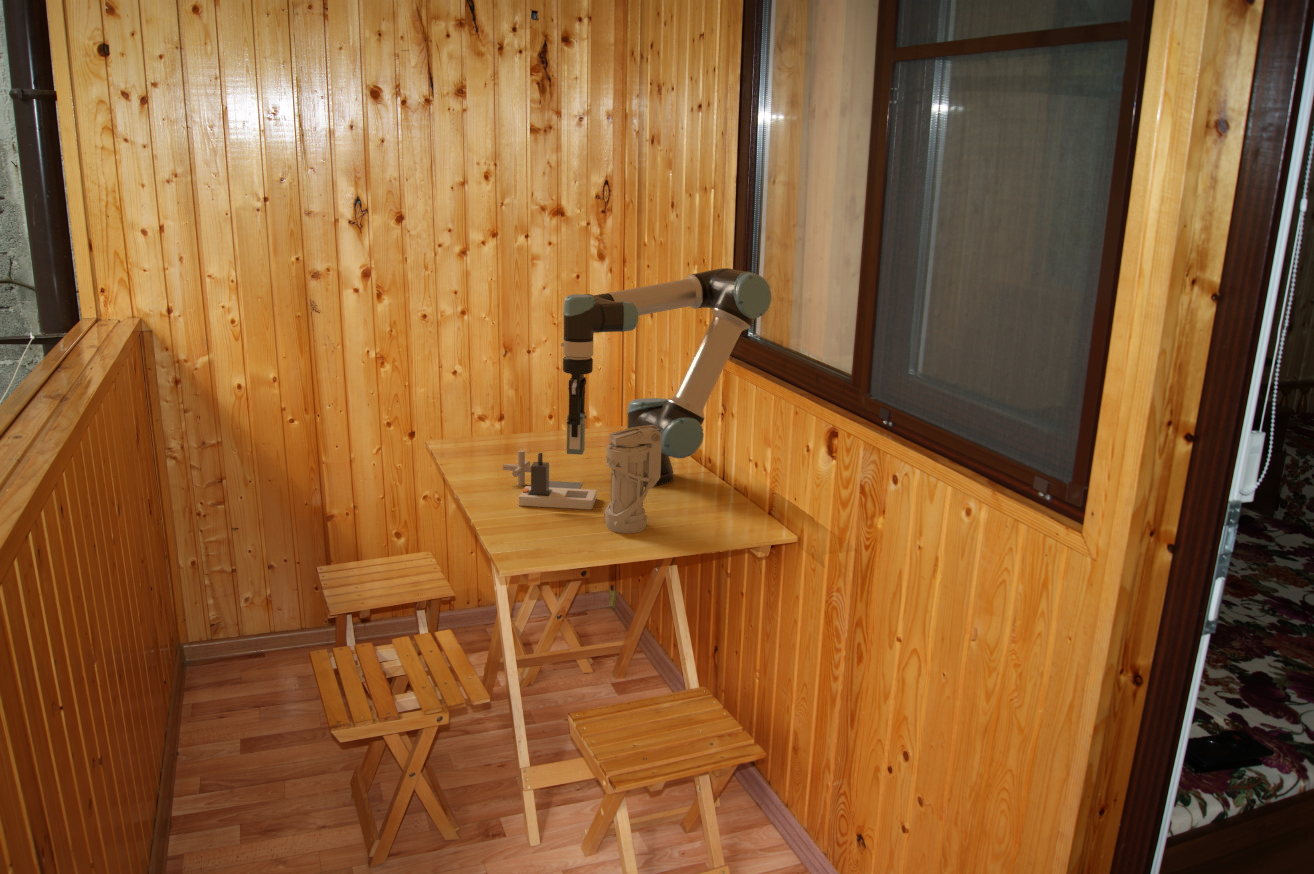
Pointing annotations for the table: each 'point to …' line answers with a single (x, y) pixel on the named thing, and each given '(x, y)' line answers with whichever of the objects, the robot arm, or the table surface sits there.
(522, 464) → the pipe connector
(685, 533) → the table surface
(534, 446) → the table surface
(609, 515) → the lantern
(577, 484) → the pad
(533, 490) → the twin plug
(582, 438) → the plug
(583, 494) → the power strip
